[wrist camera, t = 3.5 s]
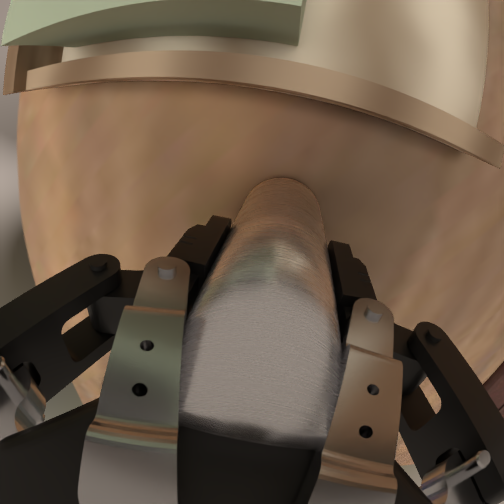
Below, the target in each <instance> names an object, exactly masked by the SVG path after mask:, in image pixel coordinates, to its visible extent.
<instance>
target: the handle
mask: <svg viewBox="0 0 504 504" xmlns="http://www.w3.org/2000/svg"><path fill="white" fill-rule="evenodd" d="M341 360H342V345H341V336H340V328H339V320H338V312H337V305H336V298H335V291H334V284H333V278H332V271H331V265H330V259H329V254H328V248H327V242H326V237H325V232H324V226H323V221H322V216H321V211H320V207H319V203H318V201H317V199H316V197H315V195H314V194H313V193H312V191H311V190H310V189H309V188H307V187H306V186H305V185H303V184H302V183H300V182H298V181H296V180H293V179H289V178H273V179H269V180H266V181H264V182H262V183H260V184H258V185H257V186H256V187H255V188H254V189H253V190H252V191H251V192H250V193H249V195H248V196H247V198H246V200H245V202H244V204H243V206H242V208H241V210H240V212H239V214H238V215H237V217H236V219H235V221H234V223H233V225H232V227H231V229H230V231H229V233H228V235H227V237H226V239H225V241H224V243H223V245H222V247H221V249H220V251H219V253H218V255H217V257H216V259H215V261H214V263H213V265H212V267H211V269H210V271H209V273H208V275H207V277H206V279H205V281H204V283H203V285H202V288H201V290H200V292H199V294H198V296H197V298H196V300H195V302H194V304H193V306H192V308H191V310H190V312H189V315H188V317H187V319H186V326H185V334H184V344H183V355H182V367H181V381H180V397H179V417H180V425H181V426H184V427H187V428H191V429H195V430H198V431H202V432H206V433H210V434H214V435H219V436H223V437H228V438H232V439H237V440H242V441H248V442H253V443H259V444H266V445H272V446H280V447H288V448H297V449H307V450H315V449H316V448H317V447H318V445H319V444H320V443H321V442H322V441H323V440H324V439H325V438H326V437H327V435H328V431H329V427H330V423H331V418H332V414H333V410H334V405H335V400H336V394H337V389H338V383H339V377H340V369H341Z"/></svg>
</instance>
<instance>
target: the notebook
mask: <svg viewBox="0 0 504 504" xmlns="http://www.w3.org/2000/svg"><path fill="white" fill-rule="evenodd" d="M483 386H484V388H485V389H486V391H487V392H488V394H489V396H490V397H491V399H492V400H493V402H494V403H495V405H496V407H497V408H498V410H499V412H500V413H501V415H502V417H503V418H504V362H503V363H502V364H501V365H500V366H499V367H498V369H497V370H496V371H495V372H494V373H493V374H492V375H491V377H490V378H489V379H488V380H487V381H486V382H485V383H484V384H483Z"/></svg>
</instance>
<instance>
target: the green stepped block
mask: <svg viewBox="0 0 504 504" xmlns="http://www.w3.org/2000/svg"><path fill="white" fill-rule="evenodd" d="M306 1H307V0H11V3H10V7H9V10H8V14H7V18H6V22H5V26H4V31H3V36H2V41H1V46H14V45H40V46H61V47H74V48H76V47H80V46H85V45H91V44H96V43H102V42H109V41H116V40H124V39H133V38H144V37H159V36H218V37H233V38H245V39H254V40H262V41H270V42H276V43H283V44H288V45H294V46H298V44H299V39H300V33H301V28H302V22H303V17H304V12H305V6H306Z"/></svg>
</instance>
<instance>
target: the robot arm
mask: <svg viewBox="0 0 504 504" xmlns="http://www.w3.org/2000/svg"><path fill="white" fill-rule="evenodd" d="M230 229H231V219H229V218H224V217H219V216H214V215H213V216H212V217H211V219H210V220H209V221H208V223H207V224H206V226H203V225H195V226H193V227H191V228H189V229H188V230H187V231H186V233H185V234H184V235H183V236H182V238H181V239H180V240H179V242H178V243H177V244H176V245H175V247H174V248H173V249H172V250H171V252H170V253H169V254H168V256H167V257H159V258H155V259H153V260H151V261H149V262H148V263H147V264H146V266H145V268H144V270H141V271H134V270H121V268H120V262H119V260H118V259H117V258H116V257H114V256H112V255H108V254H96V255H92V256H89V257H87V258H85V259H83V260H82V261H80V262H78V263H76V264H74V265H72V266H71V267H69V268H67V269H65V270H63V271H62V272H60V273H58V274H56V275H54V276H53V277H51V278H49V279H47V280H46V281H44V282H42V283H41V284H39V285H37V286H35V287H34V288H32V289H30V290H29V291H27V292H25V293H24V294H22V295H21V296H19V297H17V298H16V299H14V300H12V301H11V302H9V303H8V304H6V305H4V306H3V307H1V308H0V504H498V503H500V502H502V501H504V418H503V417H502V415H501V413H500V412H499V410H498V408H497V407H496V405H495V403H494V402H493V400H492V399H491V397H490V396H489V394H488V392H487V391H486V389H485V388H484V386H483V385H482V383H481V382H480V380H479V379H478V377H477V376H476V374H475V373H474V372H473V370H472V369H471V367H470V366H469V364H468V363H467V362H466V360H465V359H464V357H463V356H462V355H461V353H460V352H459V350H458V349H457V348H456V346H455V345H454V344H453V342H452V341H451V340H450V338H449V337H448V336H447V335H446V333H445V332H444V331H443V330H442V329H441V328H440V327H438V326H437V325H435V324H433V323H430V322H420V323H419V324H417V326H416V327H415V329H414V331H411V330H409V329H406V328H404V327H401V326H399V325H397V324H395V323H394V317H393V314H392V312H391V311H390V309H389V308H388V307H387V306H385V305H384V304H383V303H381V302H379V301H377V299H376V296H375V293H374V290H373V286H372V283H370V282H371V280H370V278H369V276H368V272H367V269H366V266H365V265H364V264H363V263H362V262H361V261H360V260H359V259H357V258H353V255H352V252H351V249H350V246H349V244H345V243H341V242H336V241H332V240H331V241H330V243H329V245H328V254H329V259H330V265H331V271H332V278H333V284H334V291H335V298H336V305H337V312H338V320H339V328H340V336H341V345H342V360H341V369H340V377H339V383H338V389H337V394H336V400H335V405H334V410H333V414H332V418H331V423H330V427H329V431H328V435H327V437H326V438H325V439H324V440H323V441H322V442H321V443H320V444H319V445H318V447H317V448H316V449H315V450H307V449H297V448H288V447H280V446H272V445H266V444H259V443H253V442H248V441H242V440H237V439H232V438H228V437H223V436H219V435H214V434H210V433H206V432H202V431H198V430H195V429H191V428H187V427H184V426H181V425H180V417H179V397H180V381H181V367H182V355H183V344H184V334H185V326H186V319H187V317H188V315H189V312H190V310H191V308H192V306H193V304H194V302H195V300H196V298H197V296H198V294H199V292H200V290H201V288H202V285H203V283H204V281H205V279H206V277H207V275H208V273H209V271H210V269H211V267H212V265H213V263H214V261H215V259H216V257H217V255H218V253H219V251H220V249H221V247H222V245H223V243H224V241H225V239H226V237H227V235H228V233H229V231H230ZM85 308H87V309H88V313H89V316H88V317H87V318H85V319H84V320H82V321H81V322H79V323H78V324H77V325H75V326H74V327H72V328H71V329H69V330H68V331H67V332H65V333H64V334H61V330H62V327H63V325H64V324H65V322H66V321H68V320H69V319H70V318H72V317H73V316H75V315H76V314H78V313H79V312H81V311H82V310H84V309H85ZM111 349H112V350H111ZM110 350H111V353H110V357H109V361H108V365H107V369H106V373H105V377H104V381H103V385H102V389H101V394H100V397H99V398H97V399H95V400H93V401H91V402H88V403H86V404H84V405H82V406H80V407H77V408H75V409H73V410H71V411H69V412H66V413H64V414H61V415H59V416H57V417H54V418H52V419H50V420H48V421H45V422H44V420H45V415H44V411H45V408H46V402H47V401H49V400H50V399H51V398H52V397H53V396H55V395H56V394H57V393H58V392H60V391H61V390H62V389H63V388H64V387H66V385H68V384H69V383H71V382H72V381H73V380H74V379H75V378H77V377H78V376H79V375H80V374H82V373H83V372H84V371H85V370H86V369H88V368H89V367H90V366H91V365H93V364H94V363H95V362H96V361H98V360H99V359H100V358H101V357H102V356H104V355H105V354H106V353H107V352H109V351H110ZM426 377H428V378H429V380H430V381H431V383H432V385H433V386H434V388H435V390H436V391H437V393H438V395H439V396H440V398H441V409H440V411H439V412H438V413H437V414H435V412H434V411H433V409H432V407H431V405H430V403H429V402H428V400H427V398H426V397H425V395H424V393H423V391H422V390H421V388H420V386H419V385H420V384H421V383H422V382H423V381H424V379H425V378H426ZM398 432H400V434H401V436H402V438H403V440H404V442H405V445H406V447H407V449H408V451H409V453H410V455H411V457H412V459H413V462H414V464H415V466H416V468H417V470H418V472H419V475H420V477H421V479H422V483H421V486H420V487H418V486H417V485H416V484H415V482H414V481H413V480H412V479H411V478H410V477H409V476H408V474H407V473H406V472H405V471H404V470H403V469H402V468H401V466H400V465H399V464H398V463H397V462H396V460H395V454H396V447H397V440H398Z"/></svg>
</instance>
